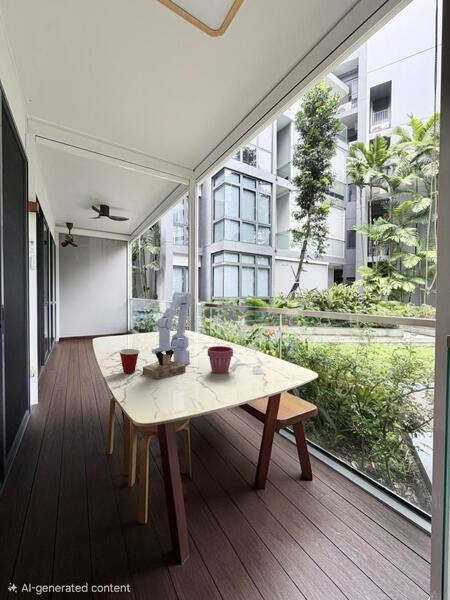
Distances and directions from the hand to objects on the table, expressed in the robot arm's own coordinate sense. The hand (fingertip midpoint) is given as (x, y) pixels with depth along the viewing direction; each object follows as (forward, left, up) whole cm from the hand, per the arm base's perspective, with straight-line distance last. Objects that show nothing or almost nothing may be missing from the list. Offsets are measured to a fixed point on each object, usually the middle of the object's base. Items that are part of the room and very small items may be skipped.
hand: (164, 364), depth 143 cm
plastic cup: (+13, -14, -5) cm, 20 cm away
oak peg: (0, 0, -3) cm, 3 cm away
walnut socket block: (0, 0, -4) cm, 4 cm away
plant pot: (-23, +20, -5) cm, 31 cm away
